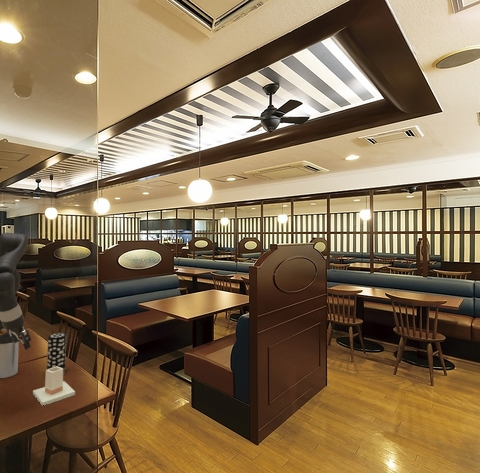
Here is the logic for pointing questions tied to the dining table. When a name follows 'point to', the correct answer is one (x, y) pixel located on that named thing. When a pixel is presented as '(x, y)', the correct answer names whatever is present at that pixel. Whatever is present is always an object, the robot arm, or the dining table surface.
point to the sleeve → (54, 380)
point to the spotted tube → (56, 351)
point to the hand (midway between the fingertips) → (22, 344)
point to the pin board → (47, 398)
